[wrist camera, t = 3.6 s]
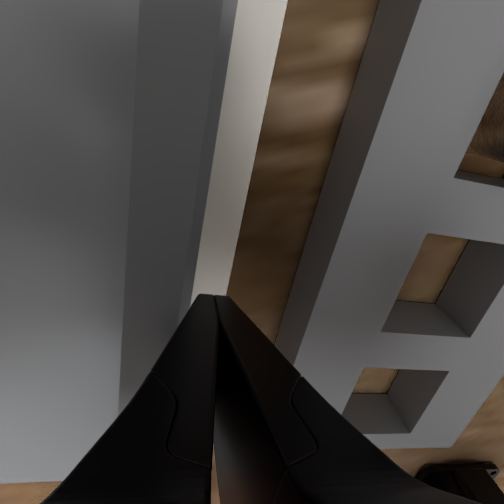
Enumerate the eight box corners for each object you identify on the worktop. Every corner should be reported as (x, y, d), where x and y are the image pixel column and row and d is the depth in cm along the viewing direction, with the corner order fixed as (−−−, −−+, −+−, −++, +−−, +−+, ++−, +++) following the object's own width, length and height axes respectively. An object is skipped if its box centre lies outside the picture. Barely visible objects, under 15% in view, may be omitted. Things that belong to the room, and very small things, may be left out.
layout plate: (205, 380, 17) (206, 393, 17) (3, 375, 15) (-6, 389, 14) (283, 0, 10) (290, -5, 10) (-70, -105, 8) (-95, -121, 8)
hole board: (424, 408, 21) (451, 447, 19) (254, 407, 19) (263, 451, 17) (652, 42, 13) (748, 37, 10) (395, -52, 10) (451, -85, 8)
